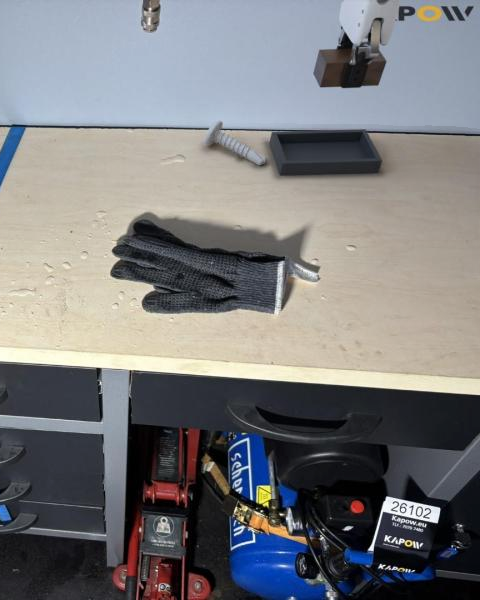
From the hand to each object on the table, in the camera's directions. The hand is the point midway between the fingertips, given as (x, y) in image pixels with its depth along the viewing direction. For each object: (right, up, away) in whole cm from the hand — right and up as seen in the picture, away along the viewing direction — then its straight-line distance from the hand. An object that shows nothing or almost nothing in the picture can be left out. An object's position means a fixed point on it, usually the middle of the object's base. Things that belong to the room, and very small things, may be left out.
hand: (346, 77), depth 96 cm
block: (0, 0, 0) cm, 0 cm away
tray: (+1, -10, +11) cm, 15 cm away
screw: (-14, -9, +13) cm, 22 cm away
